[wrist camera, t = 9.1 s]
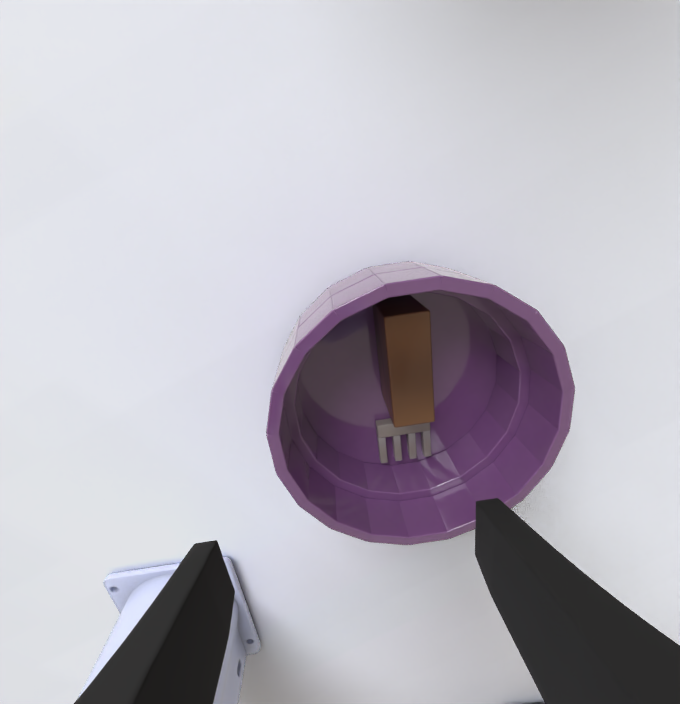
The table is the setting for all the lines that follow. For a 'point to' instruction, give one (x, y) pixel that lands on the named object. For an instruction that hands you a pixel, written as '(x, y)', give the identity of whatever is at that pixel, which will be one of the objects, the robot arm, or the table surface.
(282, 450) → the bowl
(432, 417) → the fork with wooden handle
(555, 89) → the table surface
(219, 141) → the table surface
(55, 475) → the table surface
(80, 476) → the table surface
